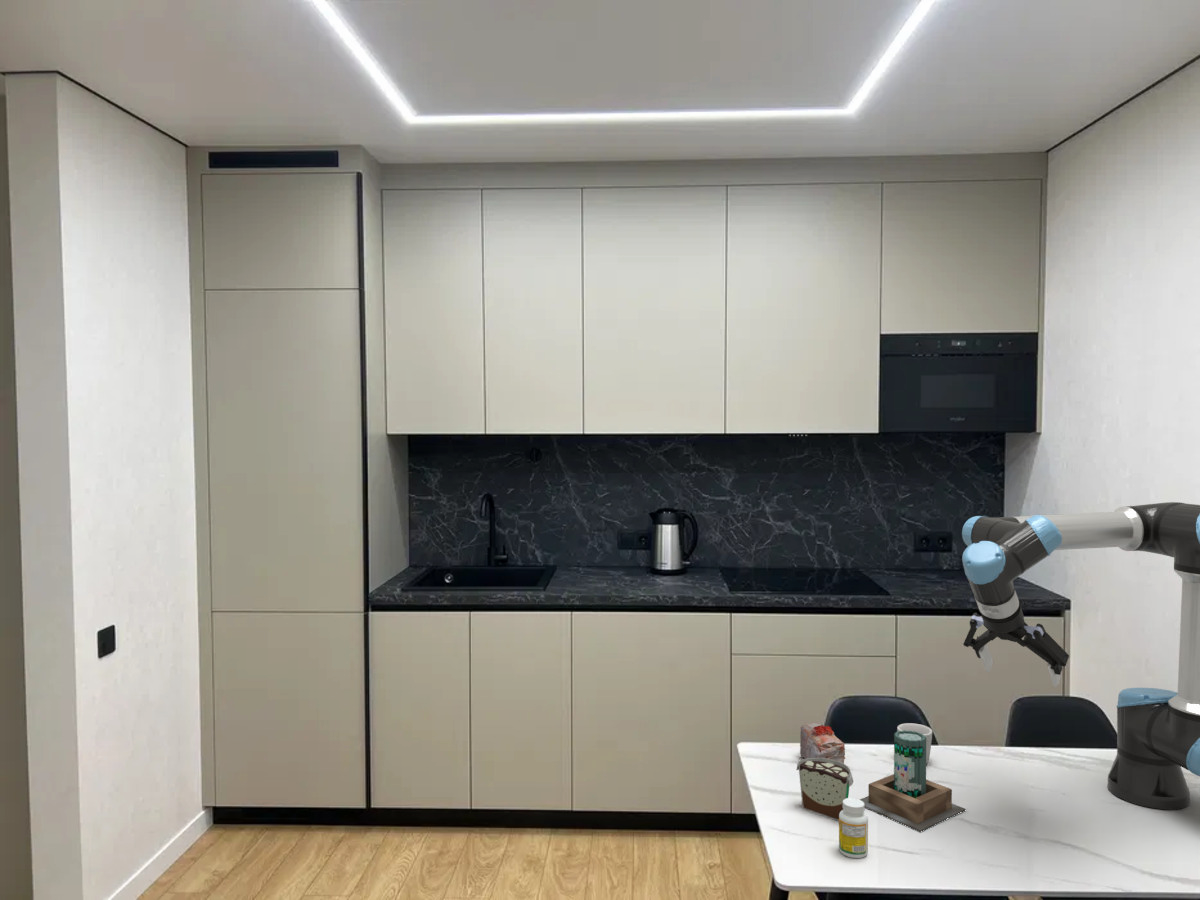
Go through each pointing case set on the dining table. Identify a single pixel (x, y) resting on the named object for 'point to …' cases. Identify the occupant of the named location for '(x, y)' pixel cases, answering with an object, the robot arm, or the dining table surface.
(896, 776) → the can
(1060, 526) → the robot arm
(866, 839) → the supplement bottle
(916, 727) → the cup
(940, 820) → the holder
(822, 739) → the food item
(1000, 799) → the dining table surface
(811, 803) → the food container
